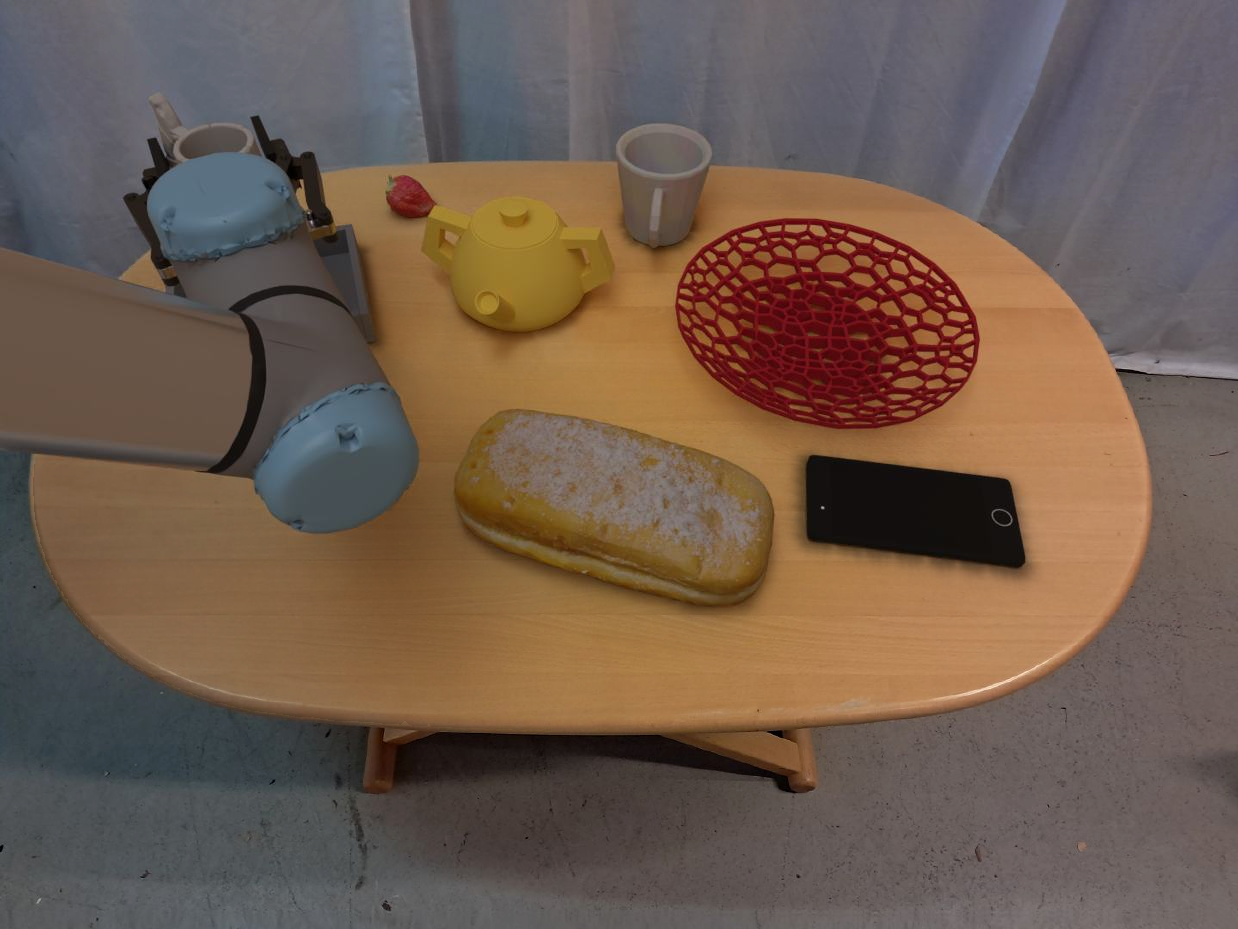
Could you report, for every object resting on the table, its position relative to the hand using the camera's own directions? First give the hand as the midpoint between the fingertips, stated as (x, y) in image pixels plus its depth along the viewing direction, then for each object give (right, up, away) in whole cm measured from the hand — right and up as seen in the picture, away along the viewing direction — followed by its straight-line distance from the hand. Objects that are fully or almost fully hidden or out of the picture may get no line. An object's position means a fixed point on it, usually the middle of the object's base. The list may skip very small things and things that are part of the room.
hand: (209, 141), depth 71 cm
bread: (+36, -34, -3) cm, 50 cm away
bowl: (+57, -17, +11) cm, 60 cm away
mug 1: (+1, -8, +3) cm, 8 cm away
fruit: (+12, 0, +22) cm, 26 cm away
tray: (+1, -13, +12) cm, 17 cm away
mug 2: (+41, -3, +21) cm, 46 cm away
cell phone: (+62, -33, -1) cm, 70 cm away
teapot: (+26, -12, +13) cm, 31 cm away
